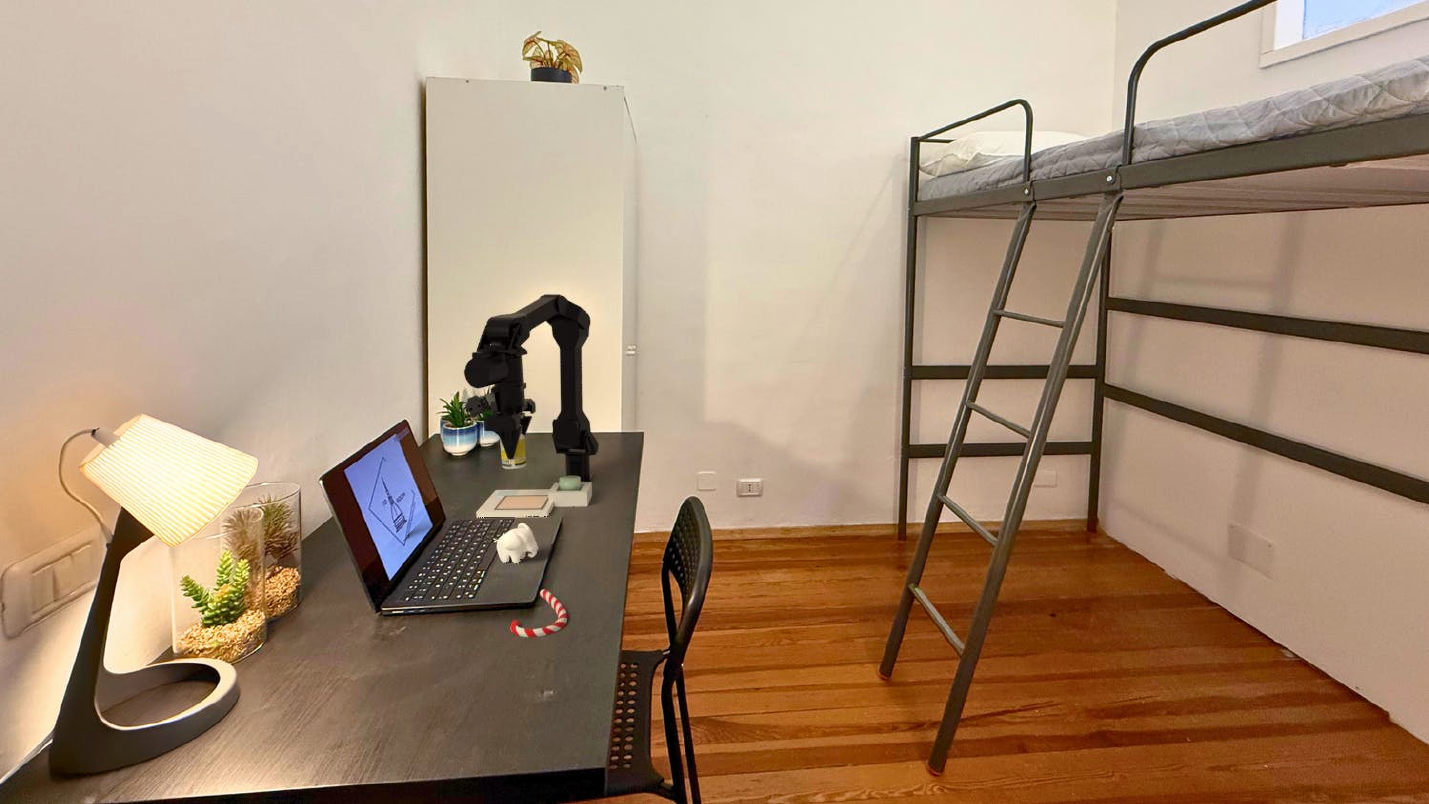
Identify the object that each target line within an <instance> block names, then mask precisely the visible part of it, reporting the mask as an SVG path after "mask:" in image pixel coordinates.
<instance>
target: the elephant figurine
mask: <svg viewBox="0 0 1429 804" xmlns="http://www.w3.org/2000/svg"><path fill="white" fill-rule="evenodd" d="M492 540H494V541H496V550H497V553H498V556H499V559H500V561H501V562H502V563H504V564H506V562H507V563H509V561H510V560H511V562H512V563H513V564H516V563H517V564H520V563H521V560H520V559H523V558H524V557H526V552H528V554H527V557H529V558H534V557H535V556H536V555H537V554H538V553H537V552H538V550H540V548H539V546H538V543H537V542H536V538H535V535H534V533H533V531H532V529H531V528H530V527H529V525H527V523H525V522H521V523H518V525H517V527H516V528H512V529H509V530H508V531H506V532H505V533H504V534H503V535H502V536H500V537H499V538H498V539H496V538H494V537H493V539H492ZM509 558H511V559H509ZM524 559H525V558H524ZM524 559H523V560H524ZM519 562H520V563H519Z"/></svg>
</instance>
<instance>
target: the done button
mask: <svg viewBox="0 0 1429 804" xmlns="http://www.w3.org/2000/svg"><path fill="white" fill-rule="evenodd" d="M559 483H560V491H579V490H581V478H580V477H579V476H565V475H564V476H561V477H560V478H559Z"/></svg>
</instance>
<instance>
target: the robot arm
mask: <svg viewBox="0 0 1429 804" xmlns="http://www.w3.org/2000/svg"><path fill="white" fill-rule="evenodd" d="M545 322H546V323H547V324H548V325H549V326H550V327H551V335H552V338H553V339H554V340H555V343H556V344H557V346H558V348H559V370H560V372H559V373H560V374H559V375H560V378H559V379H560V412H559V414H558V416H557V417H556V419H555V418H554V419H552V422H551V425H552V434H551V438H552V441H553V445H554V448H555V453H556V454H558V455H559V454H563V455H564V468H565V471H564V472H565V473H564V476H579V477H580V478H581V482H592V481H591V480H592V479H593V476H594V472H591V456H596V455H597V453H598V452H599V445H600V444H599V442H598V440H597V438H596V437H595V436H594V434H593V433H592V431H591V422H590V420H589V418H588V417H587V415H586V414H585V411H584V409H583V408H584V406H583V402H584V401H583V347H584V345H585V344H586V341H587V340H588V338H589V336H590V327H591V317H590V315H589V314H588V313H587V311H586V310H585V309H584V308H583V307H582V306H581V305H579V304H576V303H575V302H572V301H570V300H568V298H567V297H565V295H562V294H559V293H557V294H555V293H554V294H553V293H552V294H551V293H550V294H549V293H545V294H543V295H541V296H540V297H539V298H538V299H536V300H534V301H533V302H531V303H529V304H527V305H526V306H524V307H522V308H521V309H519V310H517V311H515V312H513V313H505V314H499V315H495V316H491V317H489V318H488V319H487V321H486V324H485V325H484V327H483V331H482V334H481V336H480V339H479V342H478V344H477V349H476V351H474V352H471V359H469V360H468V361H467V362H466V365H465V367H464V369H463V375H464V376H463V377H464V379H465V380H466V382H467V384H468V385H469V386H470V387H473V388H474V389H483V388H486V387H491V386H492V387H491V388H490V392H489V393H486V394H483V395H481V396H478V395H477V394H476V395H474V396H472V397H471V396H470V397H469V398H467V401H466V403H465V405H464V406H465V412H466V413H469V415H470V417H471V419H474V418H477V417H478V416H479V415H481V414H485V413H488V412H490V411H491V412H490V413H491V414H489V415H488V416H487V417H485V419H484V420H483V431H484V432H493V433H495V434H496V435H498V437H499V440H500V439H501V442H502V444H503V447H504V450H505V453H506V455H507V458H508V459H513V458H514V455H515V452H516V449H517V445H518V442H519V438H520V435H521V434H523V435H524V439H525V437H526V434H527V433H528V429H529V427H530V424H531V421H532V419H533V416H532V415H533V414H534V415H535V413H537V412H536V411H537V407H536V405H537V404H536V402H535V401H534V400H533V399H532V398H526V397H525V396H526V395H525V389H527V382H525V381H524V366H523V364H524V363H523V356H525V355H528V353H529V352H528V350H527V349H526V348H524V347H523V345H524V344H525V343H526V342H527V340H529V338H530V337H531V332H532V331H533V329H536V328H537V327H539V326H541V325H543V324H544V323H545ZM526 412H529V414H532V415H526ZM520 425H521V426H520ZM521 431H522V433H521Z"/></svg>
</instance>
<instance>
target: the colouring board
mask: <svg viewBox="0 0 1429 804" xmlns="http://www.w3.org/2000/svg"><path fill="white" fill-rule="evenodd" d="M550 489H551V488H549V489H545V488H544V489H495V490H494V491H493V493H492V494H491V495H490V496H489V497H488V498H487V499H486V500H485V502H484V503H483V504H482V505H481V506H480V507H479V509H478V510H476V519H485V518H484V517H515V518H529V517H528V516H532V517H531V518H534V517H533V516H539V517H538V518H548V517H549V515H550V514H551V512H552V510H553V509H554V507H553V501H548V492H549V491H550ZM549 513H550V514H549ZM526 516H527V517H526ZM544 516H546V517H544ZM547 516H548V517H547ZM478 517H479V518H478ZM480 517H481V518H480ZM482 517H483V518H482Z"/></svg>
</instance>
